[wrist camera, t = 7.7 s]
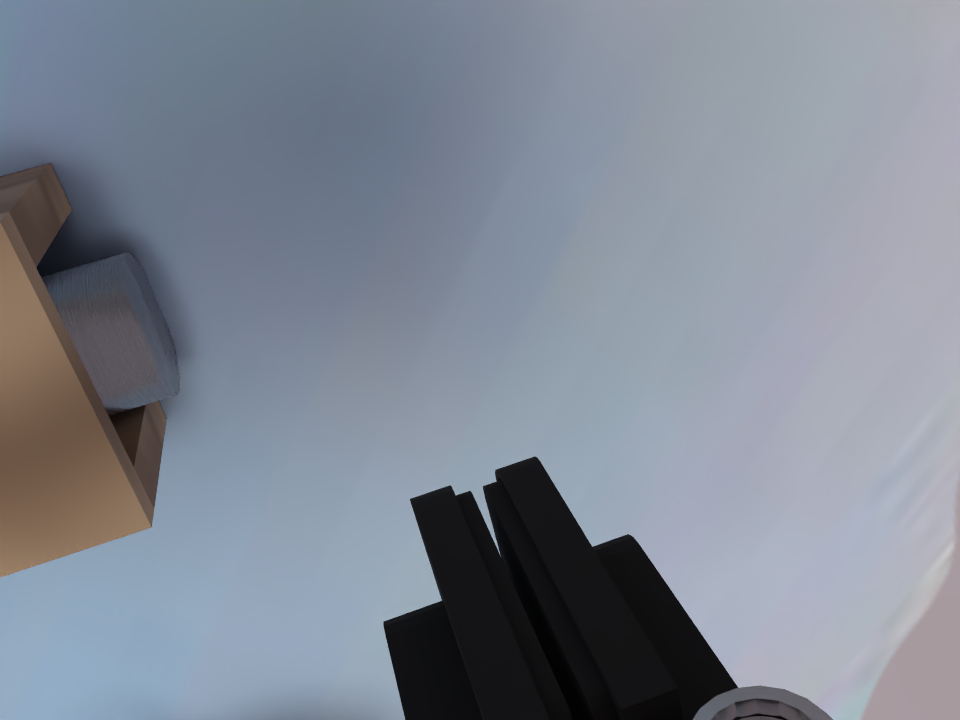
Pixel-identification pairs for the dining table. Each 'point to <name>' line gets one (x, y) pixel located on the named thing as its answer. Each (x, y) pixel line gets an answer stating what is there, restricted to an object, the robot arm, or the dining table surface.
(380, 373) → the dining table surface
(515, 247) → the dining table surface
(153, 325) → the axle
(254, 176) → the dining table surface
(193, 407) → the dining table surface
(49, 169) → the tan square block
